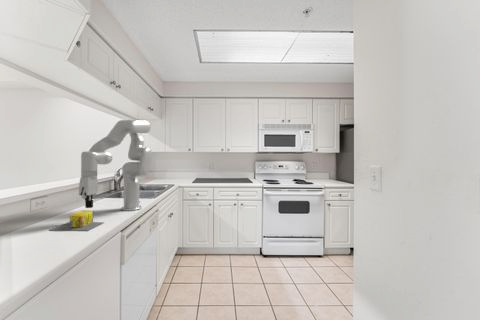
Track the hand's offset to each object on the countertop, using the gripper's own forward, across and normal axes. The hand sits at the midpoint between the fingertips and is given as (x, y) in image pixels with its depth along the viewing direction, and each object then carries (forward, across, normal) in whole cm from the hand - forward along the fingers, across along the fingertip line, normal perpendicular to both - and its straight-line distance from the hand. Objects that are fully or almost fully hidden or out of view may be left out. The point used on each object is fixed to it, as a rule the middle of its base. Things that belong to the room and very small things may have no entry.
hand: (89, 207), depth 134 cm
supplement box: (+4, +1, 0) cm, 4 cm away
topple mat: (+8, +9, 0) cm, 12 cm away
